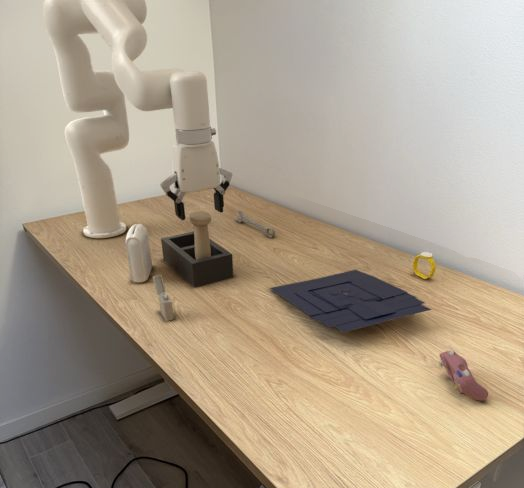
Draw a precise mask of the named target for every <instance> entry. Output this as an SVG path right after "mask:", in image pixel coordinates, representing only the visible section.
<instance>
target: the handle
mask: <svg viewBox="0 0 524 488" xmlns="http://www.w3.org/2000/svg"><path fill="white" fill-rule="evenodd" d="M188 221H189V223H190V225H193V231H194V237H195V257H196V260H198V259H202V258H207V257H211V248H210V241H209V239H210V233H209V224H211V222H212V215H211V214H210V213H209V212H208V211H203V210H197V211H192V212H189V214H188Z"/></svg>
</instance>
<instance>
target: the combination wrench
mask: <svg viewBox="0 0 524 488" xmlns="http://www.w3.org/2000/svg"><path fill="white" fill-rule="evenodd" d="M236 212H237V213H238V214H239V215H235V218H236V220H237V222H238V223H242V222H245V223H246V224H248V225H251V226H252V227H254V228H256V229H258V230H259V231H261V232H263V233H265V234H266V235H267V236H268V237H269V238H274V237H275V235H276V230H275V228H273V227H272V226H270V227H267V226H265V225H263V224H261V223H259V222H257V221H255V220H253V219H251V218H249V217H247V216H245V214H244V212H243V211H242V210H241V209H236ZM270 231H271V232H270ZM271 233H272V234H271Z"/></svg>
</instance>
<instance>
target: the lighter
mask: <svg viewBox="0 0 524 488" xmlns="http://www.w3.org/2000/svg"><path fill="white" fill-rule="evenodd" d="M152 281H153V285H154V289H155V293H156V295H157V296H158V301H159V302H158V304H159V310H160V314H161V316H162V317H163V318H164V320H165V322H169V321H172V320H174V319H175V317H174V309H173V301H172V299H171V298H170V296H169V294H168V293H167V291H166V287H165V283H164V279H163V275H162V274H157V275H154V276H152Z"/></svg>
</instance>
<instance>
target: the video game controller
mask: <svg viewBox="0 0 524 488" xmlns="http://www.w3.org/2000/svg"><path fill="white" fill-rule="evenodd" d="M439 358H440V360H438V365H439V367H441V368H443V367H444V368H445V370H446V372H447V375H448V376H449V378H450V380H451V381H452V382H453V383H454V384H455V385H454V389H455V390H456V391H458V392H459V393H460V394H465V395H466V396H467V397H469V398H471V399H472V400H475V401H478V402H483V401H486V400H487V399H488V398H489V391H488V390H487V389H486V387H484V386H483V385H481V384H480V383H479V382H478V381H476V378H475V377H474V375H473V373H472V371H471V370H470V369H469V365H468V363H467V361H466V359H465V358H463V357H462V356H460V355H459V354H458V353H457V352H456V351H454V349H451V350H446V351H444V352H441V353H439Z"/></svg>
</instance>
